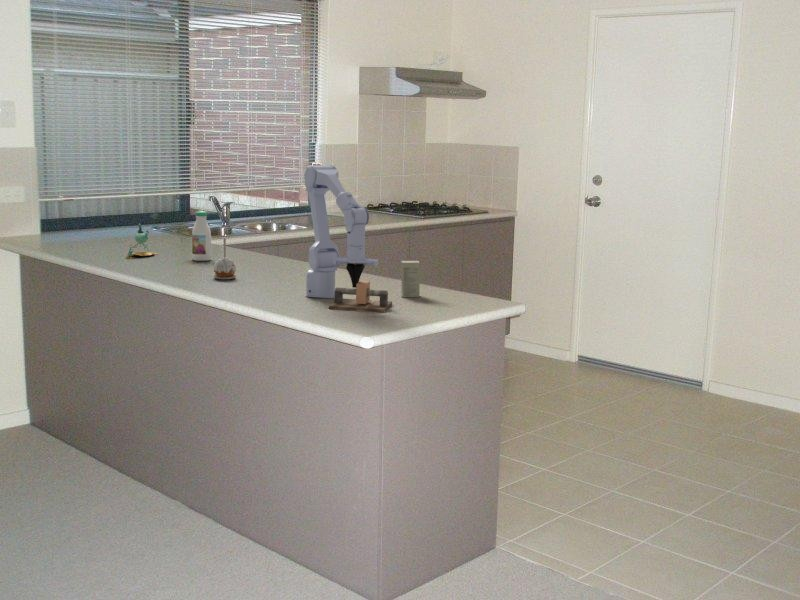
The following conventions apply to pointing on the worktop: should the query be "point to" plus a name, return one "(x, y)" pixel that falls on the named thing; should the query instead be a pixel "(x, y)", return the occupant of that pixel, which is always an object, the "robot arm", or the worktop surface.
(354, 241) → the robot arm
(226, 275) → the decorative ornament
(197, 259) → the milk bottle
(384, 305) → the pipe rig
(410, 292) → the skincare box
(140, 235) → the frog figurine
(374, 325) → the worktop surface
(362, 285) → the collar
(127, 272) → the worktop surface
